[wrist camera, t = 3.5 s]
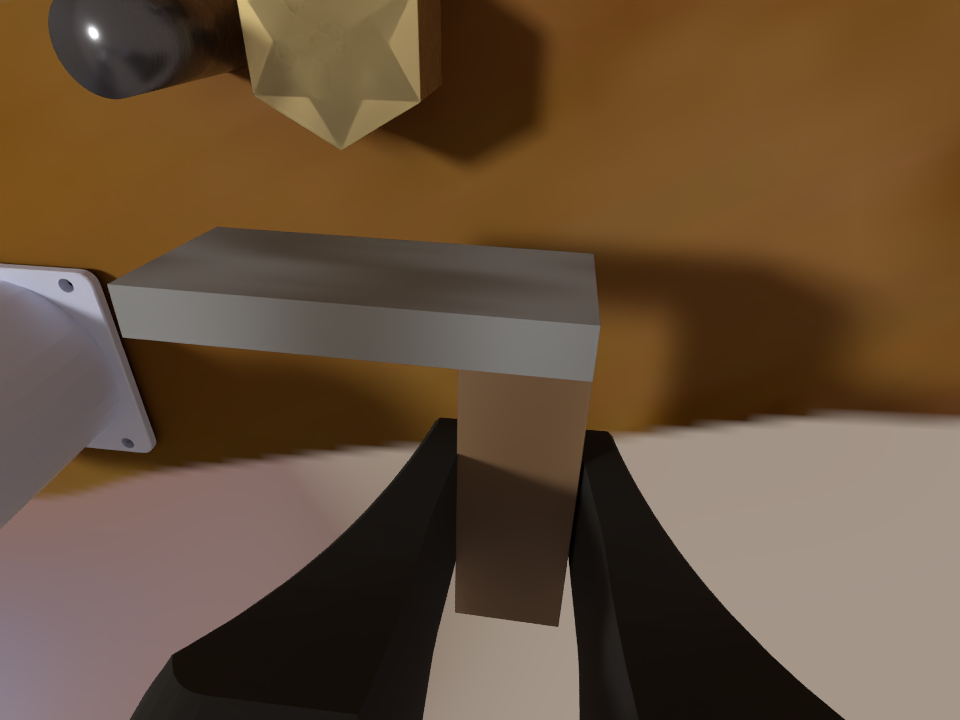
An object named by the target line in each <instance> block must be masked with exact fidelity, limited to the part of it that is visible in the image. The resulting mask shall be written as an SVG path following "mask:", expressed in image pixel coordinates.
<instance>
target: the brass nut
mask: <svg viewBox="0 0 960 720" xmlns="http://www.w3.org/2000/svg"><path fill="white" fill-rule="evenodd" d="M237 3H238V8H239V14H240V20H241V26H242V32H243V38H244V43H245V49H246V55H247V61H248V67H249V72H250V78H251V84H252V90H253V95H254V96H255V97H257V98H258V99H260V100H262V101H263V102H265V103H266V104H268V105H270V106H271V107H273V108H275V109H276V110H278V111H279V112H281V113H283V114H284V115H286V116H287V117H289V118H291V119H292V120H294V121H295V122H297V123H299V124H300V125H302V126H303V127H305V128H307V129H308V130H310V131H311V132H313V133H315V134H316V135H318V136H320V137H321V138H323V139H324V140H326V141H328V142H329V143H331V144H332V145H334V146H336V147H337V148H339V149H340V150H342V149H344V148H345V147H347V146H349V145H350V144H352V143H354V142H355V141H357V140H359V139H360V138H362V137H364V136H365V135H367V134H369V133H370V132H372V131H374V130H375V129H377V128H379V127H380V126H382V125H383V124H385V123H387V122H388V121H390V120H392V119H393V118H395V117H397V116H398V115H400V114H402V113H403V112H405V111H407V110H408V109H410V108H412V107H413V106H415V105H417V104H418V103H420V102H421V101H422V100H424V99H425V98H426V97H427V96H428V95H430V94H431V93H432V92H433V91H435V90H436V89H437V88H438V87H439V86H441V85H442V67H441V0H237Z"/></svg>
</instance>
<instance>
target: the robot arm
mask: <svg viewBox="0 0 960 720" xmlns="http://www.w3.org/2000/svg"><path fill="white" fill-rule="evenodd" d="M67 280H68V281H69V282H71V284H72V285H73V287H72V286H71V285H70V284H69V283H68V282H67ZM155 445H156V439H155V436H154V433H153V430H152V428H151V425H150V422H149V419H148V416H147V414H146V411H145V408H144V405H143V402H142V400H141V397H140V394H139V391H138V388H137V385H136V383H135V380H134V377H133V374H132V371H131V369H130V366H129V363H128V360H127V357H126V355H125V352H124V349H123V346H122V343H121V341H120V338H119V335H118V332H117V329H116V327H115V324H114V321H113V318H112V315H111V313H110V310H109V307H108V304H107V301H106V299H105V296H104V293H103V290H102V287H101V285H100V282H99V281H98V279H97V277H96V276H95V275H94V274H92V273H91V272H89V271H87V270H83V269H73V268H58V267H44V266H29V265H14V264H0V529H1V528H2V527H3V526H4V525H5V524H6V523H7V522H8V521H9V520H10V519H11V518H12V517H14V516H15V515H16V514H17V513H18V512H19V511H20V510H21V509H22V508H23V507H24V506H25V505H26V504H27V503H28V502H29V501H30V500H31V499H32V498H33V497H34V496H35V495H36V494H37V493H38V492H39V491H40V490H41V489H43V488H44V487H45V486H46V485H47V484H48V483H49V482H50V481H51V480H52V479H53V478H54V477H55V476H56V475H57V474H58V473H59V472H60V471H61V470H62V469H63V468H64V467H65V466H66V465H67V464H68V463H69V462H70V461H71V460H72V459H74V458H75V457H76V456H77V455H78V454H79V453H80V452H81V451H82V450H83V449H84V448H85V447H88V448H98V449H109V450H119V451H130V452H140V453H148V452H149V451H151V450H152V449H153V448H154V446H155ZM456 508H457V419H450V418H439V419H438V420H437V421H435V423H434V424H433V426H432V428H431V429H430V431H429V432H428V434H427V435H426V437H425V438H424V440H423V441H422V443H421V444H420V446H419V447H418V448H417V450H416V451H415V453H414V454H413V455H412V457H411V458H410V460H409V461H408V462H407V463H406V464H405V466H404V467H403V468H402V469H401V471H400V472H399V474H397V476H396V477H395V478H394V480H393V481H392V482H391V483H390V484H389V486H388V487H387V488H386V489H385V490H384V491H383V492H382V493H381V494H380V496H379V497H378V498H377V499H376V500H375V501H374V502H373V503H372V505H370V507H369V508H368V509H367V510H366V511H365V512H364V513H363V514H362V515H361V516H360V517H359V518H358V519H357V520H356V521H355V522H354V523H353V524H352V525H351V526H350V527H349V528H348V529H347V530H346V531H345V532H344V533H343V534H342V535H341V536H340V537H339V538H338V539H336V540H335V541H334V542H333V543H332V544H331V545H330V546H329V547H328V548H326V549H325V550H324V551H323V552H322V553H321V554H319V555H318V556H317V557H316V558H315V559H314V560H312V561H311V562H310V563H309V564H307V565H306V566H305V567H304V568H303V569H301V570H300V571H299V572H298V573H296V574H295V575H294V576H293V577H291V578H290V579H289V580H288V581H286V582H285V583H283V584H282V585H281V586H279V587H278V588H276V589H275V590H274V591H272V592H271V593H269V594H268V595H267V596H265V597H264V598H262V599H261V600H259V601H258V602H257V603H256V604H254V605H252V606H251V607H250V608H248V609H247V610H245V611H244V612H242V613H241V614H239V615H238V616H236V617H235V618H233V619H232V620H230V621H228V622H227V623H225V624H224V625H222V626H220V627H218V628H217V629H215V630H213V631H212V632H210V633H209V634H207V635H206V636H204V637H202V638H200V639H199V640H197V641H195V642H194V643H192V644H190V645H189V646H187V647H185V648H183V649H182V650H180V651H178V652H176V653H174V654H173V655H172V656H171V657H170V659H169V661H168V662H167V663H166V665H165V666H164V668H163V669H162V670H161V672H160V673H159V674H158V676H157V677H156V678H155V680H154V681H153V682H152V684H151V686H150V687H149V689H148V690H147V692H146V693H145V695H144V696H143V698H142V700H141V701H140V703H139V705H138V707H137V708H136V710H135V712H134V713H133V715H132V717H131V719H130V720H423V713H424V707H425V700H426V694H427V688H428V681H429V675H430V669H431V663H432V656H433V651H434V647H435V642H436V637H437V632H438V628H439V625H440V621H441V617H442V612H443V609H444V605H445V601H446V597H447V593H448V589H449V585H450V581H451V578H452V574H453V570H454V566H455V562H456ZM568 557H569V567H570V578H571V587H572V597H573V607H574V617H575V627H576V636H577V645H578V660H579V695H580V696H579V702H580V703H579V705H580V720H845V719H844V718H842V717H841V716H840V715H839V714H837V713H836V712H835V711H834V710H832V709H831V708H830V707H829V706H828V705H827V704H825V703H824V702H823V701H822V700H821V699H819V698H818V697H817V696H816V695H815V694H813V693H812V692H811V691H810V690H809V689H807V688H806V687H805V686H804V685H803V684H802V683H801V682H800V681H798V680H797V679H796V678H795V677H794V676H793V675H792V674H791V673H790V672H789V671H787V670H786V669H785V668H784V667H783V666H782V665H781V664H780V663H779V662H778V661H777V660H776V659H775V658H774V657H772V656H771V655H770V654H769V653H768V652H767V651H766V650H765V649H764V648H763V647H762V645H761V644H760V643H759V642H758V641H757V640H756V639H755V638H754V637H753V636H752V635H751V634H750V633H749V632H748V631H747V630H746V629H745V628H744V627H743V626H742V625H741V624H740V623H739V622H738V621H737V620H736V619H735V618H734V617H733V616H732V615H731V614H730V612H729V611H728V610H727V609H726V608H725V607H724V606H723V605H722V603H721V602H720V601H719V600H718V599H717V598H716V597H715V596H714V594H713V593H712V592H711V591H710V590H709V589H708V587H707V586H706V585H705V584H704V582H703V581H702V580H701V579H700V577H699V576H698V575H697V574H696V572H695V571H694V570H693V569H692V567H691V566H690V565H689V564H688V562H687V561H686V560H685V559H684V557H683V556H682V554H681V553H680V552H679V551H678V549H677V547H676V546H675V545H674V543H673V542H672V540H671V539H670V537H669V536H668V535H667V533H666V532H665V530H664V529H663V527H662V526H661V524H660V523H659V521H658V520H657V518H656V517H655V515H654V514H653V512H652V510H651V509H650V507H649V505H648V504H647V502H646V501H645V499H644V497H643V496H642V494H641V492H640V491H639V489H638V487H637V485H636V483H635V482H634V480H633V478H632V476H631V474H630V472H629V471H628V469H627V467H626V465H625V463H624V461H623V459H622V457H621V455H620V453H619V451H618V448H617V446H616V444H615V442H614V439H613V437H612V436H611V435H610V433H609V432H607V431H595V430H586V432H585V439H584V446H583V453H582V461H581V468H580V475H579V482H578V489H577V496H576V503H575V510H574V518H573V525H572V532H571V539H570V546H569V553H568Z"/></svg>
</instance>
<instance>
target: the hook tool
mask: <svg viewBox="0 0 960 720" xmlns="http://www.w3.org/2000/svg"><path fill="white" fill-rule="evenodd" d="M107 286H108V289H109V293H110V296H111V300H112V303H113V306H114V310H115V313H116V317H117V320H118V323H119V327H120V330H121V334H122V337H123V338H133V339H144V340H154V341H165V342H176V343H186V344H197V345H207V346H218V347H229V348H239V349H250V350H260V351H271V352H282V353H292V354H303V355H313V356H324V357H335V358H345V359H356V360H366V361H377V362H388V363H398V364H409V365H419V366H430V367H441V368H451V369H458V416H457V508H456V581H455V583H456V585H455V589H456V590H455V612H456V613H463V614H470V615H478V616H484V617H491V618H499V619H506V620H513V621H520V622H527V623H534V624H541V625H549V626H556V627H558V625H559V617H560V610H561V603H562V596H563V589H564V582H565V574H566V567H567V560H568V553H569V546H570V539H571V532H572V525H573V518H574V510H575V503H576V496H577V489H578V482H579V475H580V468H581V461H582V453H583V446H584V439H585V432H586V425H587V418H588V411H589V403H590V396H591V389H592V382H593V375H594V368H595V361H596V353H597V346H598V339H599V332H600V316H599V306H598V295H597V284H596V274H595V263H594V254H591V253H577V252H563V251H549V250H535V249H521V248H507V247H492V246H478V245H464V244H450V243H436V242H422V241H408V240H394V239H380V238H366V237H352V236H338V235H324V234H310V233H295V232H281V231H267V230H253V229H239V228H225V227H216V228H214V229H212V230H210V231H208V232H206V233H204V234H202V235H200V236H198V237H197V238H195V239H193V240H191V241H189V242H187V243H185V244H183V245H181V246H179V247H177V248H176V249H174V250H172V251H170V252H168V253H166V254H164V255H162V256H160V257H158V258H156V259H154V260H153V261H151V262H149V263H147V264H145V265H143V266H141V267H139V268H137V269H135V270H133V271H132V272H130V273H128V274H126V275H124V276H122V277H120V278H118V279H116V280H114V281H112V282H110V283H109V284H107Z"/></svg>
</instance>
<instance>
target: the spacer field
mask: <svg viewBox="0 0 960 720" xmlns="http://www.w3.org/2000/svg"><path fill="white" fill-rule="evenodd" d="M48 25H49V33H50V38H51V41H52V44H53V47H54V50H55V52H56V54H57V56H58V58H59V60H60V61H61V63H62V65H63V66H64V67H65V69H66V70H67V71H68V73H69V74H70V75H71V76H72V77H73V78H74V79H75V80H76V81H77V82H78V83H79V84H81V85H82V86H83V87H84V88H86V89H87V90H89V91H91V92H93V93H94V94H96V95H99V96H102V97H105V98H110V99H122V98H127V97H131V96H135V95H139V94H143V93H147V92H151V91H155V90H159V89H163V88H167V87H171V86H175V85H179V84H183V83H187V82H191V81H195V80H198V79H202V78H206V77H210V76H214V75H218V74H222V73H226V72H230V71H234V70H238V69H240V68H242V67H244V66H245V65H247V64H248V61H247V55H246V49H245V43H244V38H243V32H242V26H241V20H240V14H239V8H238V3H237V0H53V2H52V4H51V7H50V11H49V18H48Z"/></svg>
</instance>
